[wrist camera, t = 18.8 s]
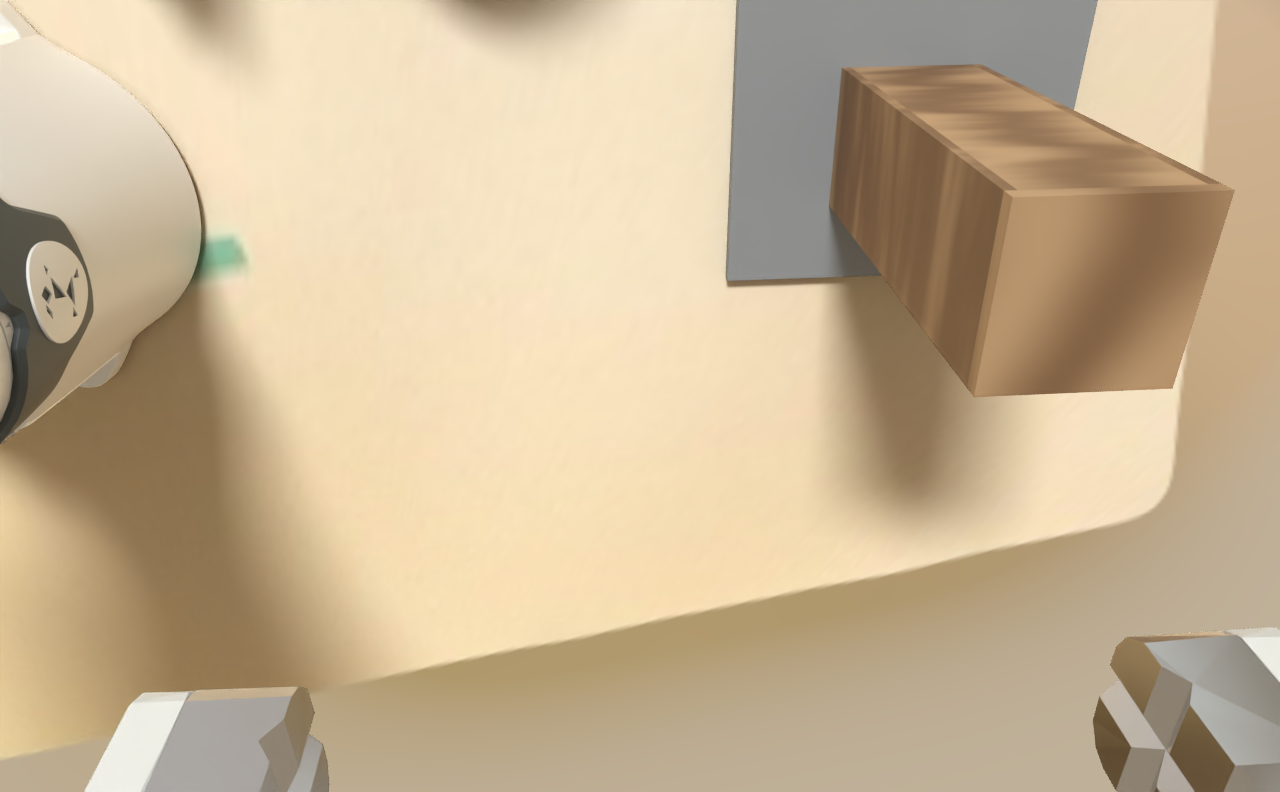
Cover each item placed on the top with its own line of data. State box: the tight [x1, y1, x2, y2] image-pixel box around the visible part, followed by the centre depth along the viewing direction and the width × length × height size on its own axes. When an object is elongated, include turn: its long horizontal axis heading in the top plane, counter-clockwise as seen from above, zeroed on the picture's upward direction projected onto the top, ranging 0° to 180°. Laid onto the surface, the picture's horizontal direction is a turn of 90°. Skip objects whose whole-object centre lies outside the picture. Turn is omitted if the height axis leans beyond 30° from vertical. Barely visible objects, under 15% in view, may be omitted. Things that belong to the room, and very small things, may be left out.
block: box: [829, 64, 1235, 397], centre depth 36 cm, size 6×6×19 cm
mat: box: [726, 0, 1098, 281], centre depth 44 cm, size 16×14×1 cm
